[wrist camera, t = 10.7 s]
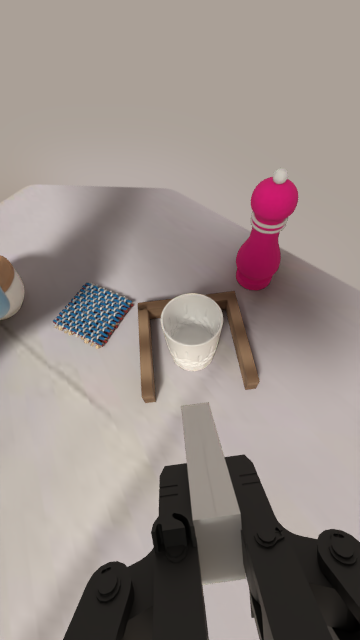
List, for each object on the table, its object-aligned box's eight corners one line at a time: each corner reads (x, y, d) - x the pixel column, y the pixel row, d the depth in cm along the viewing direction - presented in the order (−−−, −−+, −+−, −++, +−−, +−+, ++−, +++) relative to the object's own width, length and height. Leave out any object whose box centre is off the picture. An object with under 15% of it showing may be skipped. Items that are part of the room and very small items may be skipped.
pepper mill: (246, 256, 53) (270, 147, 36) (280, 274, 50) (323, 164, 33) (225, 280, 50) (240, 174, 33) (260, 299, 48) (296, 195, 31)
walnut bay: (255, 388, 40) (259, 381, 37) (145, 402, 39) (141, 397, 37) (232, 301, 48) (234, 291, 45) (140, 312, 48) (137, 303, 45)
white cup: (180, 323, 46) (176, 285, 38) (225, 339, 44) (232, 304, 36) (159, 363, 43) (149, 332, 34) (206, 383, 40) (209, 355, 32)
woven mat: (89, 285, 52) (85, 278, 50) (136, 304, 49) (134, 298, 47) (52, 328, 47) (47, 322, 46) (102, 353, 45) (98, 347, 43)
